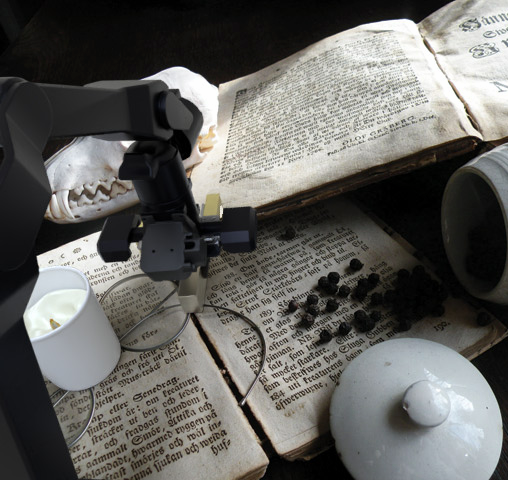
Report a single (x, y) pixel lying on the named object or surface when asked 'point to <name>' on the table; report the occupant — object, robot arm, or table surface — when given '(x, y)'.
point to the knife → (193, 289)
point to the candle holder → (70, 330)
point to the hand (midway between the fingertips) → (196, 276)
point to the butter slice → (212, 204)
